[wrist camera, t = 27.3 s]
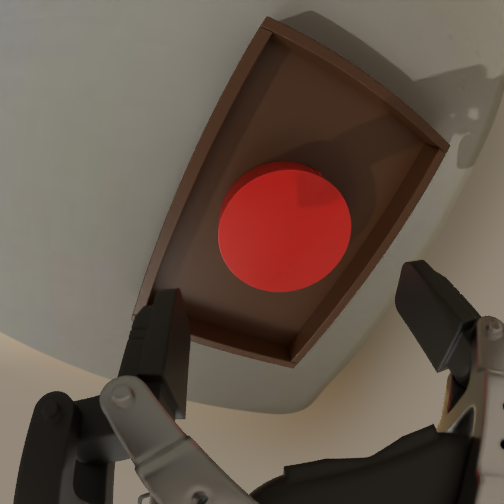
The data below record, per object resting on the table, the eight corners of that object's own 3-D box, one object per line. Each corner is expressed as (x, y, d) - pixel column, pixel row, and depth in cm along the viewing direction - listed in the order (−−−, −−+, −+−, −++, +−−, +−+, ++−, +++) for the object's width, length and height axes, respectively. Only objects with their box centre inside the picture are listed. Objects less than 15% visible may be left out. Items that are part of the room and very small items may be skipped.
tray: (288, 347, 21) (293, 368, 19) (138, 299, 18) (130, 320, 16) (429, 138, 14) (450, 145, 12) (261, 26, 11) (266, 15, 9)
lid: (254, 136, 13) (258, 142, 12) (361, 194, 15) (375, 206, 14) (199, 248, 16) (196, 266, 14) (300, 287, 18) (308, 306, 16)
